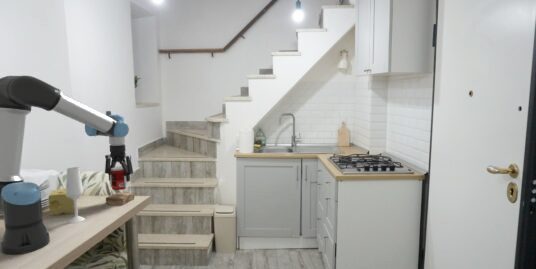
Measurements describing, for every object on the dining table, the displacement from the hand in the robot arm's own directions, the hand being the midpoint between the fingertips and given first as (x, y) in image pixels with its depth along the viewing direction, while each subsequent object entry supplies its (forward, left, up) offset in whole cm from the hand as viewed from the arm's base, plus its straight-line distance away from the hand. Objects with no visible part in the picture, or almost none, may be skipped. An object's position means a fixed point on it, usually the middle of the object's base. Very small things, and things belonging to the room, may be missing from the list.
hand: (119, 186), depth 181 cm
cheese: (-19, +18, -8) cm, 27 cm away
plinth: (0, 0, -8) cm, 8 cm away
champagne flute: (-28, +3, -8) cm, 29 cm away
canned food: (0, 0, -1) cm, 1 cm away
